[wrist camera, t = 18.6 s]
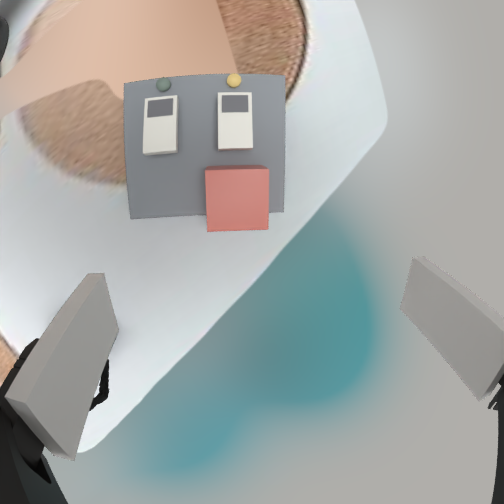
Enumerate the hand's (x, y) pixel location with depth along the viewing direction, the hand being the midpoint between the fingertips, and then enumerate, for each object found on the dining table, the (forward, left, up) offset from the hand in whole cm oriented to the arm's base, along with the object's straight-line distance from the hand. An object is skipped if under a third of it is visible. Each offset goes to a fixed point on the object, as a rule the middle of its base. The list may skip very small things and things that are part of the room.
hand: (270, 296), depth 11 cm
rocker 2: (-8, 0, -22) cm, 24 cm away
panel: (-6, -4, -27) cm, 27 cm away
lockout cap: (0, 0, -24) cm, 24 cm away
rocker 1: (-8, -8, -22) cm, 25 cm away
